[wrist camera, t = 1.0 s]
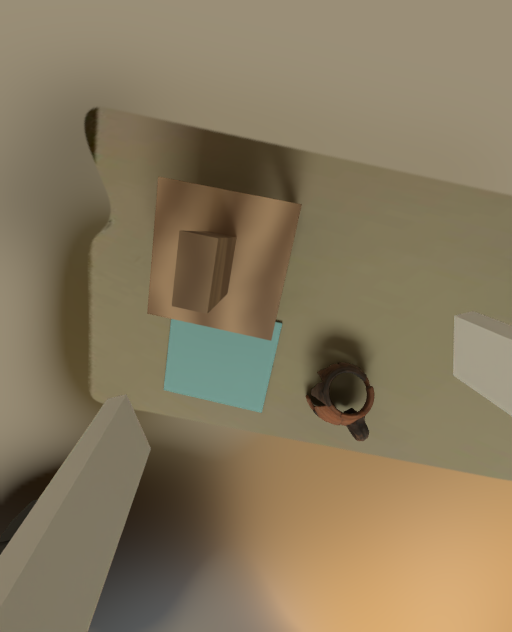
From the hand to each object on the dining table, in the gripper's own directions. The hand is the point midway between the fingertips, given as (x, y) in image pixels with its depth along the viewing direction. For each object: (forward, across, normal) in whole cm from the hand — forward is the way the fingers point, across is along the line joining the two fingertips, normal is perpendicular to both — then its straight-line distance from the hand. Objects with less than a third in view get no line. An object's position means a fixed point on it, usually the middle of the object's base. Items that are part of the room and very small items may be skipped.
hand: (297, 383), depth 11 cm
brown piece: (+32, +1, -2) cm, 32 cm away
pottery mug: (+28, -9, +22) cm, 37 cm away
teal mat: (+32, +8, +14) cm, 35 cm away
